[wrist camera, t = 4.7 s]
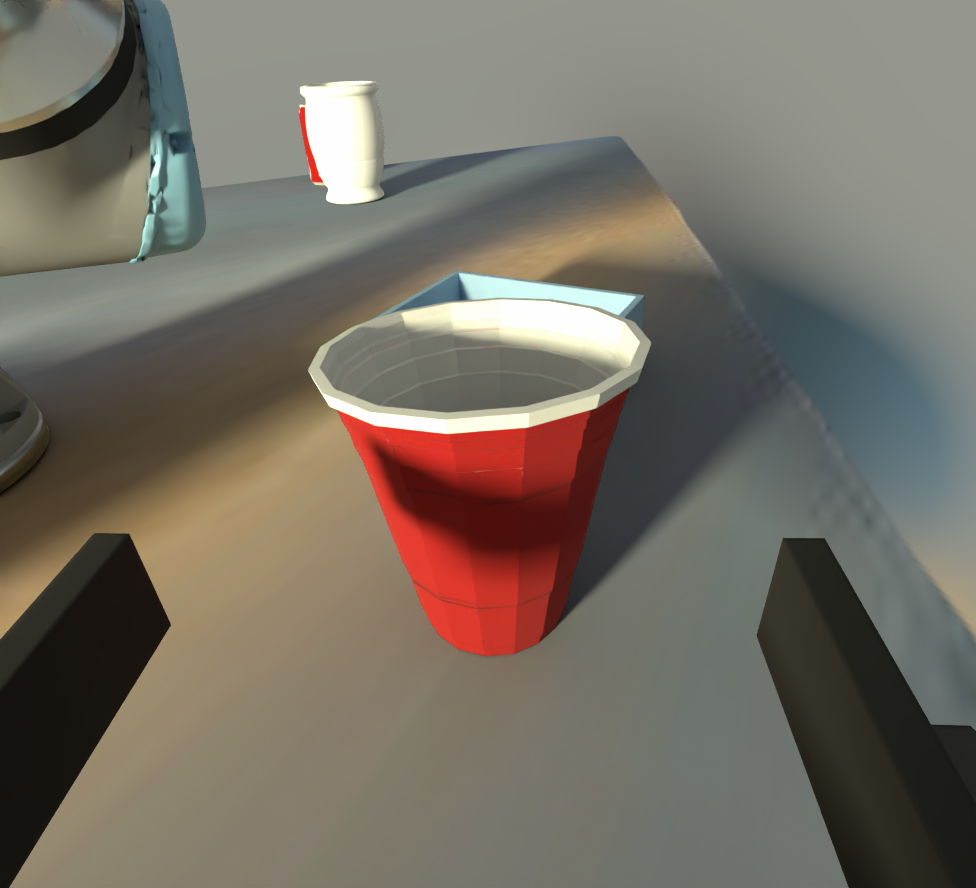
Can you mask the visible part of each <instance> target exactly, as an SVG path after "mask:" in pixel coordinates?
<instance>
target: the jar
mask: <svg viewBox="0 0 976 888" xmlns="http://www.w3.org/2000/svg"><path fill="white" fill-rule="evenodd" d="M377 90H378V85H377V82H371V81H346V82H330V83H319V84H311V85H305V86H302V87H300V93H301V95H302V96H304V97H305V99H306V108H305V117H306V128H307V135H308V140H309V144H310V147H311V150H312V153H313V156H314V159H315V161H316V166H317V169H318V172H319V174H320V176H321V178H322V180H323V182H324V184H325V185H326V186H327V187H328V193H327V196H326V199H327V201H329V202H331V203H335V204H358V203H365V202H371V201H374V200H378V199H380V198H382V197H383V196H384V192H383V190H382V189H381V187H380V185H379V183H380V181H381V178H382V175H383V168H384V156H383V154H384V129H383V122H382V117H381V113H380V109H379V106H378V103H377V100H376V98H375V93H376V92H377Z"/></svg>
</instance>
